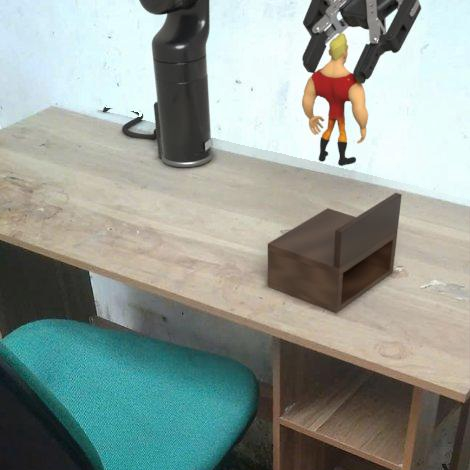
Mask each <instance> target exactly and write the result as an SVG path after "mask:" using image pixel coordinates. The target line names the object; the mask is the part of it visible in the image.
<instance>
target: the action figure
mask: <svg viewBox="0 0 470 470" xmlns="http://www.w3.org/2000/svg"><path fill="white" fill-rule="evenodd" d="M348 49H349V45H348V40H347V37H346V34H345V33H344V32H342V33H341V34H337V35H336V37H333V38H332V39H331V40H330V41H329V49H328V50H327V51H328V55H329V56H330V60H329V61H328V62H327V63H326V64H325V65H324V66H323V67H322V68H320V69H318V70H316V71H315V72H314V73H311V76H310V77H308V79H307V81H306V83H305V86H304V89H303V95H302V99H301V107H302V110H303V112H304V115H305V116H306V118H307V119H308V127H309V130H310V131H311V133H312V134H313V135H315V136H316V135H319V133H321V132H322V130H321V129H324V126H323V124H322V123H321V122H324V121H325V118H323V117H322V116H321V115H315V114H314V105H315V101H316V99H317V97H320V98H323V99H325V101H326V102H327V103H328V107H329V109H328V114H327V117H328V119H327V128H326V129H325V130H324V131H323V132H322V134H321V136H320V141H319V155H318V161H319V162H322V163H323V162H326V160H327V159H326V158H327V157H328V156H329V152H328V151H327V150H326V149H327V147H328V144H329V142H330V141H331V140H330V139H331V137H332V133H333V130H334V128H335V125H336V122H337V129H338V133H339V135H338V137H337V142H336V145H337V151H338V154H339V158H338V162H337V165H338V166H341V167H343V166H346V165H352V164H355V163H356V162H357V158H356V157H355V156H351V157H346V151H347V147H348V137H347V132H346V117H345V105H346V102H350V103H351V112H352V117H353V118H354V120H355V121H356V123H357V124H358V125H359V133H360V136H361V137H360V139H359V140H357V141H356V143H357V144H361V143H363V142H364V140H365V139H366V136H367V124H368V121H369V112H368V109H367V107H366V102H367V101H366V91H365V88H364V86H363V85H364V84H361V83H357V81H356V80H355V78H354V76H353V72H351V71H349V70H348V69H347V68H346V66H345V64H346V62H347V59H348V54H349V53H348ZM320 121H321V122H320ZM320 128H321V129H320Z"/></svg>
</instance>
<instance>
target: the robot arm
mask: <svg viewBox="0 0 470 470" xmlns="http://www.w3.org/2000/svg"><path fill="white" fill-rule="evenodd" d="M138 1H139V3H140V5H141V7H142V8H143V9H144V10H145V11H146V12H147V13H148V14H152V15H154V16H155V15H156V16H164V15H166V17H165V20H164V23H163V25H162V26H161V27H160V28H159V30H158V32H156V34H155V35H154V36H153V37H152V40H151V53H152V54H151V55H152V62H153V73H154V82H155V83H154V84H155V93H156V101H155V102H154V104H153V112H154V114H153V115H154V123H155V128H154V129H153V133H152V134H151V133H149V134H148V133H138V132H134V131H132V130H129V128H131V127H132V126H134V125H136V124H138V123H139V122H142V120H143V118H144V114H143V113H142V116H141V117H138V116H139V113H138V112H134V111H130V113H131V112H132V113H133V114H134V115H136V116H137V117H135V118H134V119H132V120H130V121H128V122H126V123H125V124H124V125H123V126H122V128H121V130H122V133H124V134H125V135H126V136H128V137H130V138H134V139H140V140H141V139H143V140H155V139H156V143H157V151H158V158H159V159H161V160H162V163H164V164H165V165H168V166H170V167H173V168H193V167H198V166H202V165H205V164H207V163H209V162H210V161H211V160H212V159H213V149H212V146H213V143H214V141H213V137H212V131H211V130H212V129H211V114H210V93H209V78H208V77H209V76H208V60H207V58H208V57H207V43H208V39H209V36H210V27H211V26H210V25H211V21H210V19H211V18H210V15H211V13H210V12H211V11H210V9H211V8H210V4H211V3H210V0H138ZM396 10H397V11H396ZM421 10H422V5H421V3H420V0H311V1H310V4H309V6H308V8H307V11H306V13H305V16H304V18H303V20H302V25H303V26H304V28H305V30H306V31H307V33H308V34H309V36H310V38H309V41H308V43H307V45H306V48H305V50H304V52H303V54H302V58H301V60H302V64H303V67H304V69H305V70H306V72H308V73H311V74H313V73H314V72H316V71H317V69H318V66H319V64H320V62H321V60H322V57H323V55H324V53H325V51H326V49H327V44H328V43H330V42H331V41H332V40H333V39H334V38H335V36H337V35H339V34H341V33H342V34H343V33H344V32H345V31H346V30H347V29H348V28H349V27H350V28H359V27H360V28H362V29H364V30H367V31H368V36H369V43H365V45H364V47H363V49H362V51H361V53H360V56H359V58H358V60H357V62H356V64H355V67H354V69H353V71H352V73H353V76H354V78H355V80H356V81H357V83H361V84H362V85H364V84H365V82H366V80H369V79H370V78H371V76H372V75H373V73H374V71H375V68H376V66H377V64H378V62H379V60H380V58H381V56H383V55H385V53H387V52H391V53H393V54H396V53H397V54H398V53H399V52H400V50H401V49H402V47H403V45H404V43H405V42H406V39H407V37H408V35H409V34H410V32H411V30H412V28H413V26H414V25H415V22H416V20H417V18H418V17H419V14H420V12H421ZM395 11H396V13H395V15H394V17H393V19H392V21H391V23H390V25H389V27H388V28H387V19H386V18H388V17H389V16H390V15H391V14H392V13H394V12H395ZM338 14H340V16H341V19H338ZM111 109H112V108H106V107H105V106H104V107H103V108H102V113H108V111H110V110H111Z"/></svg>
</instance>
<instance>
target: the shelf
mask: <svg viewBox="0 0 470 470" xmlns="http://www.w3.org/2000/svg"><path fill="white" fill-rule="evenodd" d="M402 195H403V194H401V193H398V192H394V193H392V194H391V195H390V196H388V197H386V198H385V199H383V200H382V201H379V203H377V204H375V205H373V206H372V207H370V208H369V209H367V210H365V211H363V212H362V213H361V214H359V215H357V216H354V215H351V214H347V213H345V212H342V211H338V210H335V209H332V208H328V207H327V208H326V209H324V210H322V211H321V212H319V213H317V214H315V215H313V216H312V217H310V218H308V219H306V220H305V221H304V222H302V223H300V224H298V225H297V226H295V227H293V228H292V229H290V230H289V231H287V232H285V233H284V234H281V235H280V236H278V237H277V238H275V239H273V240H272V241H270V242H268V243H267V287H268V288H270V289H273V290H276V291H278V292H281V293H282V294H283V293H284V294H286V295H288V296H292V297H294V298H296V299H299V300H301V301H304V302H307V303H309V304H312V305H314V306H317V307H320V308H322V309H325V310H327V311H330V312H332V313H335V314H337V313H340V311H342V310H343V309H345V308H346V307H347V306H349V305H350V304H351V303H353V302H354V301H356V300H357V299H358V298H360V297H362V296H363V295H364V294H366V293H367V292H369V291H370V290H371V289H372V288H374V287H375V286H377V285H378V284H380V283H381V282H382V281H383V280H385V279H387V278H388V277H389V276H391V275H392V274H393V273H394V266H395V258H396V248H397V239H398V233H399V231H398V229H399V221H400V215H401V214H400V213H401V205H402V197H403V196H402Z"/></svg>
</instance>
